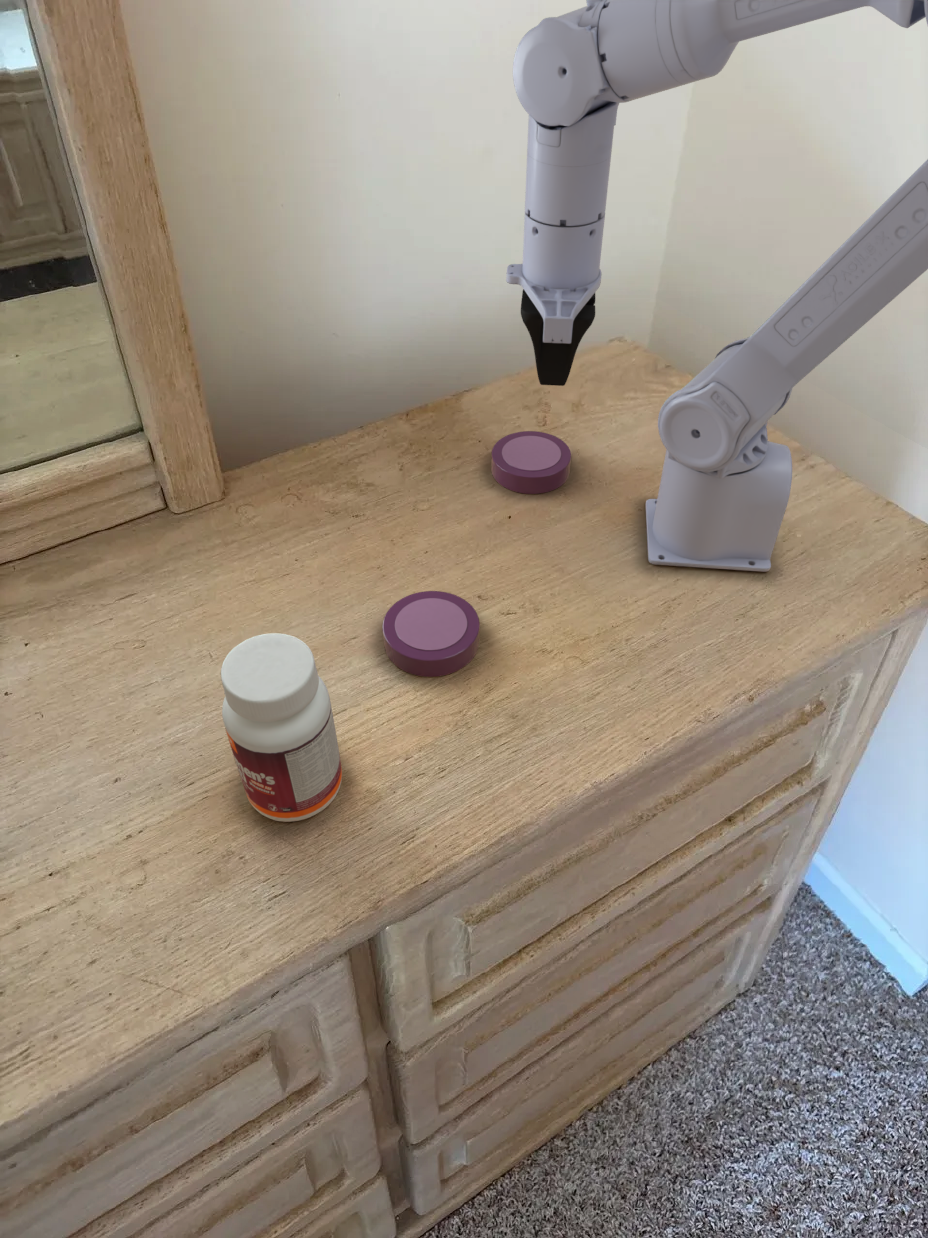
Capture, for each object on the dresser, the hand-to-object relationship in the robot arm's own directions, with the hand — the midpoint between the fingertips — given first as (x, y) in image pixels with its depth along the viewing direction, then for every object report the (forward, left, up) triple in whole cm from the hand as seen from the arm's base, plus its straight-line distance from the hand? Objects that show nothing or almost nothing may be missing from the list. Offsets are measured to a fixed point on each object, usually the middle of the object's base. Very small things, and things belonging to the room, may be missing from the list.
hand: (552, 380), depth 74 cm
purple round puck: (+1, 0, -9) cm, 9 cm away
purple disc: (+7, +21, -9) cm, 24 cm away
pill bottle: (+14, +35, -9) cm, 39 cm away
